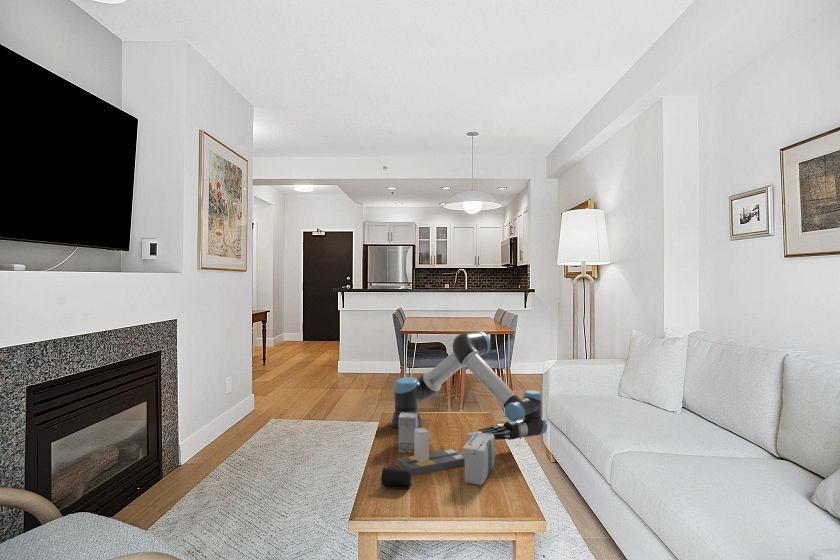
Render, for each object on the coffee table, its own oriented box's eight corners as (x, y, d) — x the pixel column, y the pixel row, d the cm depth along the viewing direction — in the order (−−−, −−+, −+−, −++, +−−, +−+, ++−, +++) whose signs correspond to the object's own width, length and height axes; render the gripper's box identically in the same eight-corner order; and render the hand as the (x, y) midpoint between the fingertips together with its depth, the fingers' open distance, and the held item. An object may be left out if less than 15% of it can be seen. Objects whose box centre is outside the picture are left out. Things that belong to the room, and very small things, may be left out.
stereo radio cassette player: (484, 487, 172) (483, 431, 172) (461, 484, 174) (461, 429, 174) (495, 466, 191) (495, 416, 191) (475, 464, 194) (475, 414, 194)
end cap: (381, 490, 170) (381, 470, 170) (386, 481, 177) (386, 463, 177) (408, 492, 168) (408, 473, 168) (413, 484, 175) (413, 465, 175)
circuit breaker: (419, 441, 221) (419, 409, 221) (415, 452, 207) (415, 417, 207) (402, 441, 221) (402, 408, 222) (398, 452, 207) (398, 417, 207)
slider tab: (414, 458, 193) (414, 428, 193) (423, 456, 194) (423, 427, 194) (419, 462, 188) (419, 432, 188) (428, 461, 190) (428, 431, 190)
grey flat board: (397, 464, 193) (397, 458, 193) (453, 454, 204) (453, 448, 204) (409, 475, 182) (409, 468, 182) (468, 464, 194) (468, 457, 194)
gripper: (524, 442, 204) (476, 451, 194) (506, 434, 216) (460, 441, 206) (524, 425, 204) (476, 432, 194) (506, 417, 216) (460, 424, 206)
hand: (468, 437), depth 200 cm, fingers closed
